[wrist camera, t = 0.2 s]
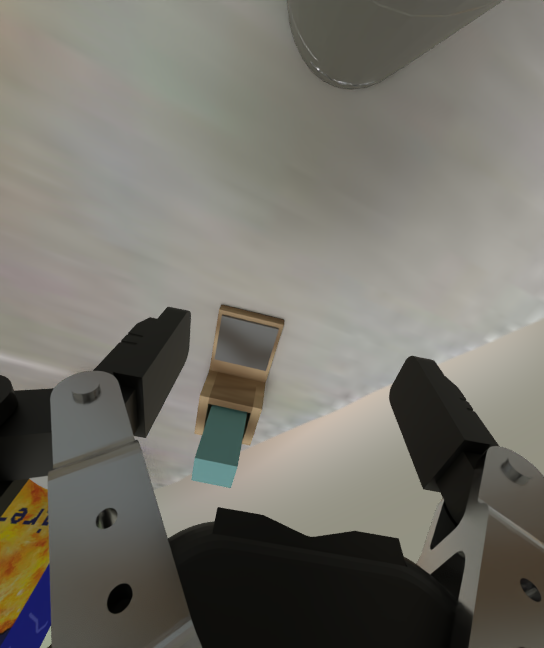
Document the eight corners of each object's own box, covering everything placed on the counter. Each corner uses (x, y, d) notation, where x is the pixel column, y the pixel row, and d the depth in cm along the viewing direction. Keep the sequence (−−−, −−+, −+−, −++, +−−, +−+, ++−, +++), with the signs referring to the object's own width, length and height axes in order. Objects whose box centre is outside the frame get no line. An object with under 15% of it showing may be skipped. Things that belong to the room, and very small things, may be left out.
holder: (221, 304, 30) (209, 331, 26) (284, 319, 31) (282, 348, 26) (205, 404, 39) (194, 436, 35) (254, 415, 39) (248, 448, 35)
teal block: (219, 380, 35) (194, 457, 26) (251, 388, 35) (237, 466, 27) (215, 402, 37) (191, 480, 29) (245, 409, 37) (230, 488, 29)
